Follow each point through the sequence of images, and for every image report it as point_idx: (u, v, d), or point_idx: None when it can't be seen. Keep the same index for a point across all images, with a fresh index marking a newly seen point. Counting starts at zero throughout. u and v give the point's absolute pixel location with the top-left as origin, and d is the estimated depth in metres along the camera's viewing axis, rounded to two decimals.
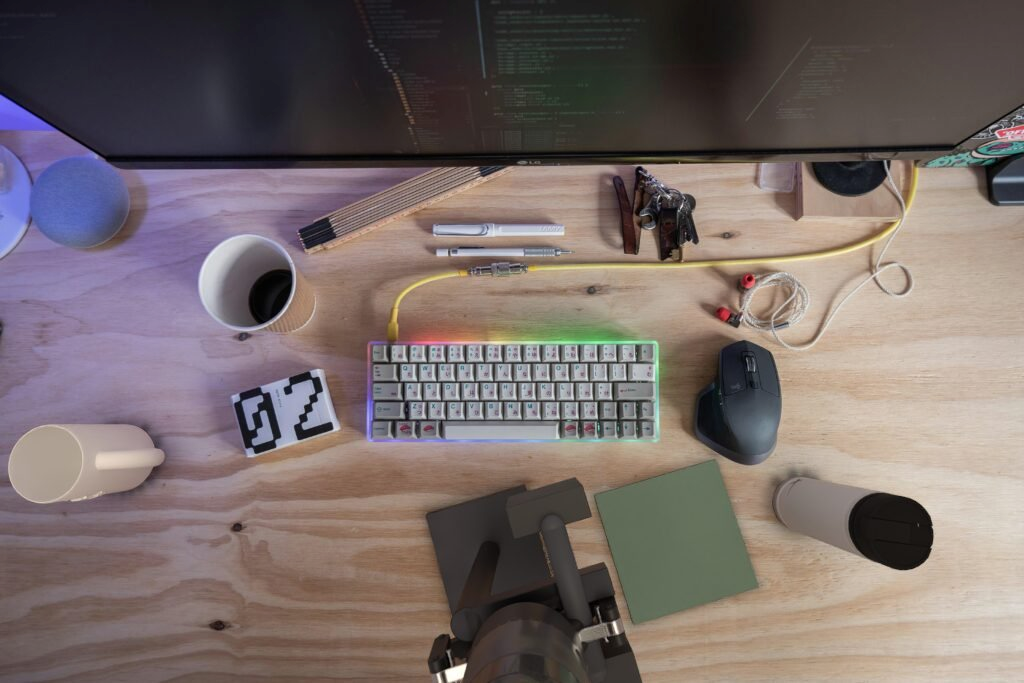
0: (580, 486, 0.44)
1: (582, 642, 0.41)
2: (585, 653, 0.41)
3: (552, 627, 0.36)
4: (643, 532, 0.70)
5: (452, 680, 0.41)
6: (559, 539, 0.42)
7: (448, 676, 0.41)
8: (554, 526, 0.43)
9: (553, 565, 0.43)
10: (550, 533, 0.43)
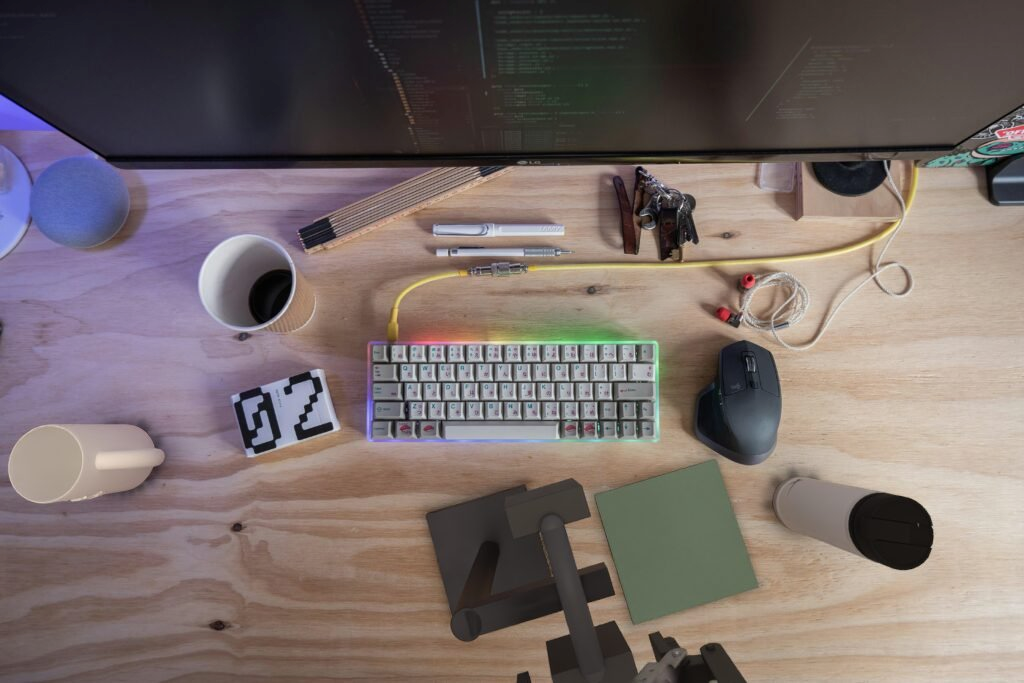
0: (579, 486, 0.44)
1: None
2: (584, 653, 0.41)
3: None
4: (643, 532, 0.70)
5: None
6: (559, 539, 0.43)
7: None
8: (554, 526, 0.43)
9: (552, 565, 0.43)
10: (549, 532, 0.43)
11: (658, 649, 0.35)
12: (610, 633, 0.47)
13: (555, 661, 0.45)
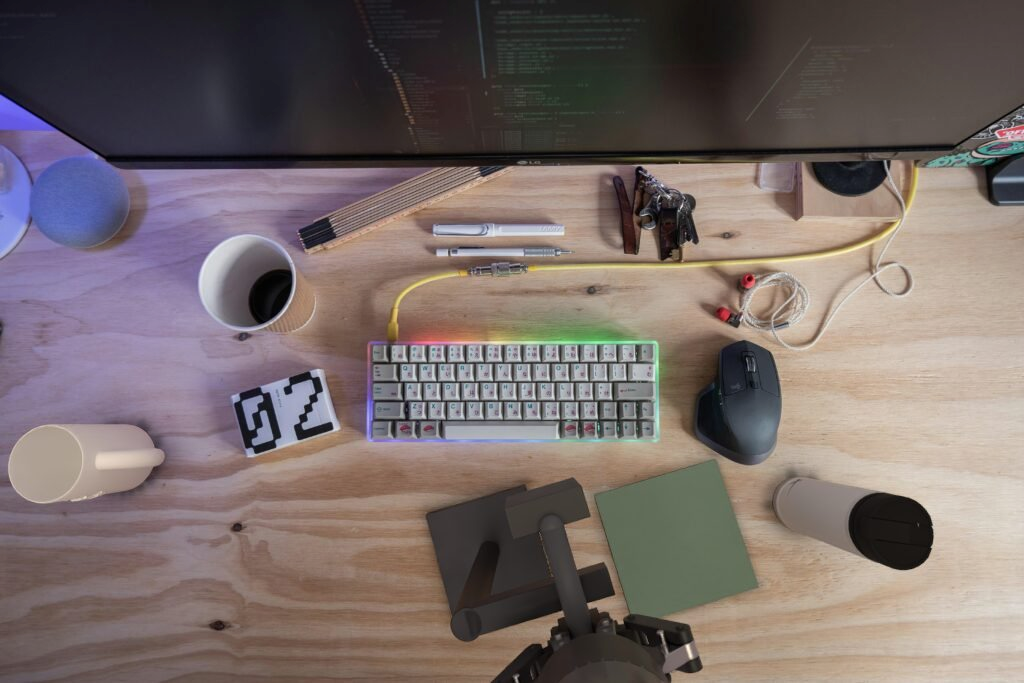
0: (579, 486, 0.44)
1: (665, 674, 0.35)
2: None
3: (644, 670, 0.29)
4: (643, 532, 0.70)
5: None
6: (558, 539, 0.42)
7: None
8: (553, 526, 0.43)
9: (552, 565, 0.43)
10: (549, 533, 0.43)
11: (592, 620, 0.42)
12: None
13: None
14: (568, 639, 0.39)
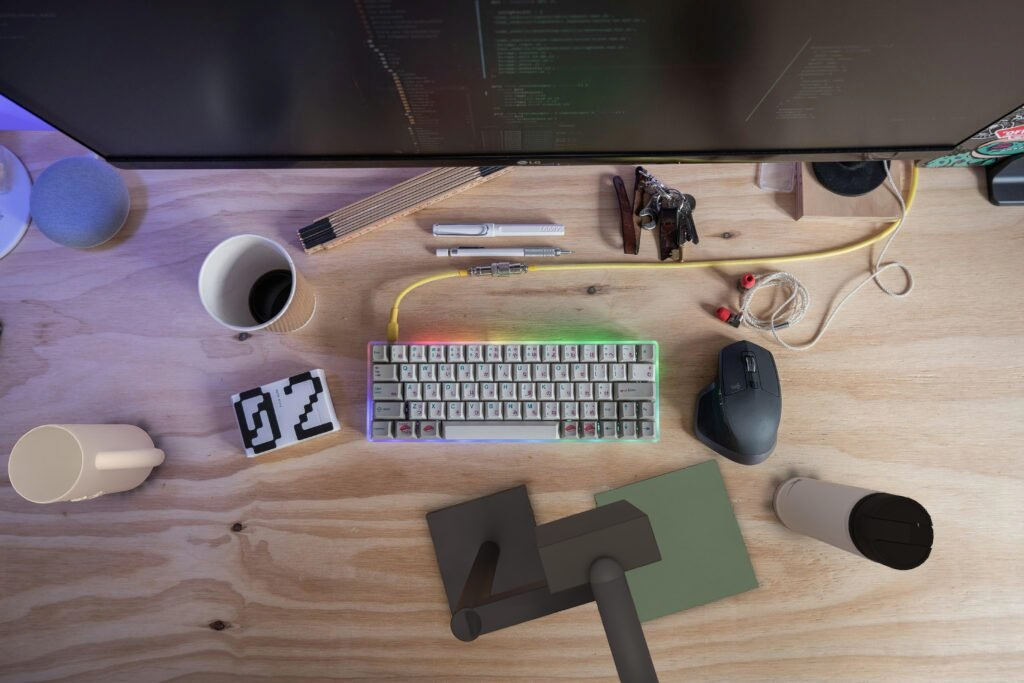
0: (644, 516, 0.31)
1: None
2: None
3: None
4: None
5: None
6: (618, 596, 0.29)
7: None
8: (611, 576, 0.29)
9: (610, 634, 0.29)
10: (605, 586, 0.29)
11: None
12: None
13: None
14: None
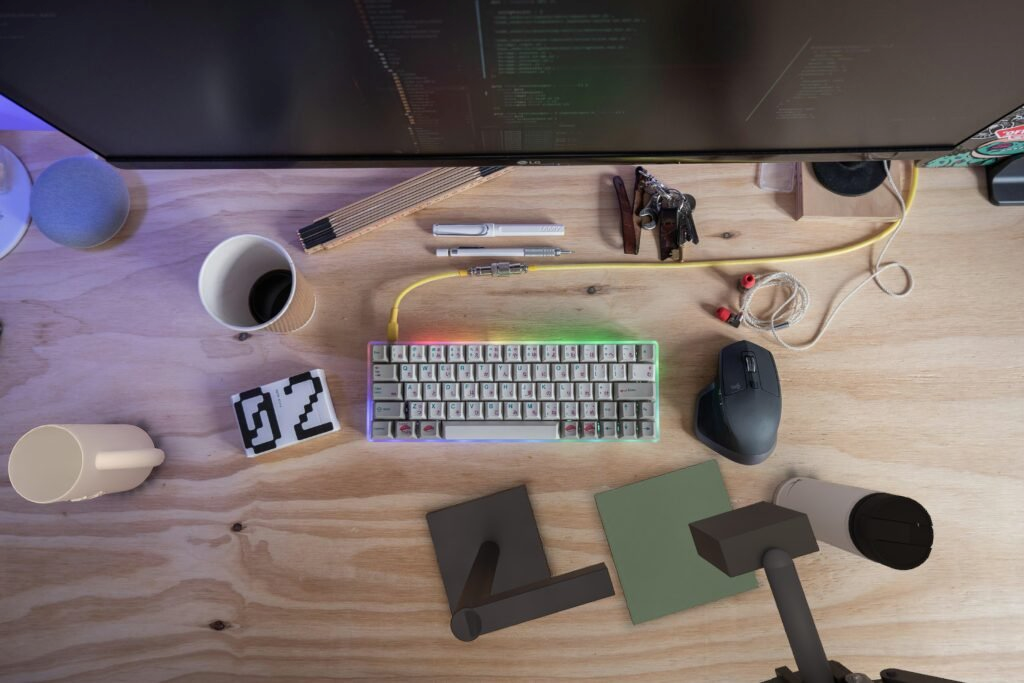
0: (804, 515, 0.38)
1: None
2: None
3: None
4: (643, 532, 0.70)
5: None
6: (791, 578, 0.36)
7: None
8: (785, 563, 0.37)
9: (784, 609, 0.37)
10: (780, 571, 0.37)
11: (832, 673, 0.36)
12: None
13: None
14: None
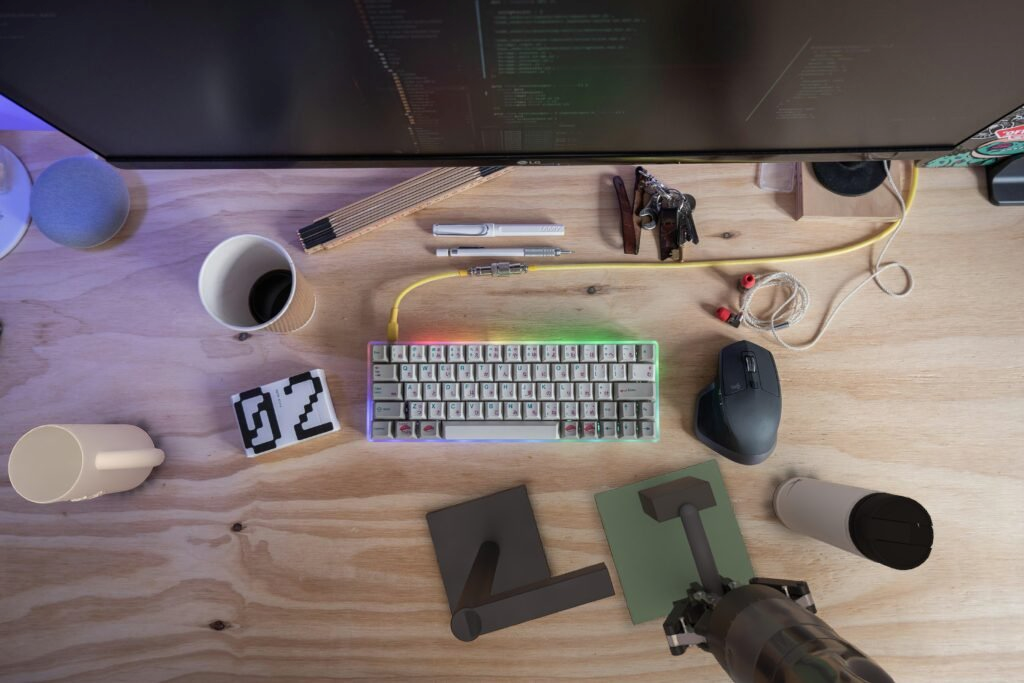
0: (707, 482, 0.59)
1: None
2: None
3: (798, 604, 0.43)
4: (643, 532, 0.70)
5: (682, 643, 0.50)
6: (696, 522, 0.57)
7: (679, 640, 0.50)
8: (692, 512, 0.57)
9: (691, 541, 0.57)
10: (689, 517, 0.57)
11: (722, 583, 0.57)
12: None
13: None
14: (714, 594, 0.53)
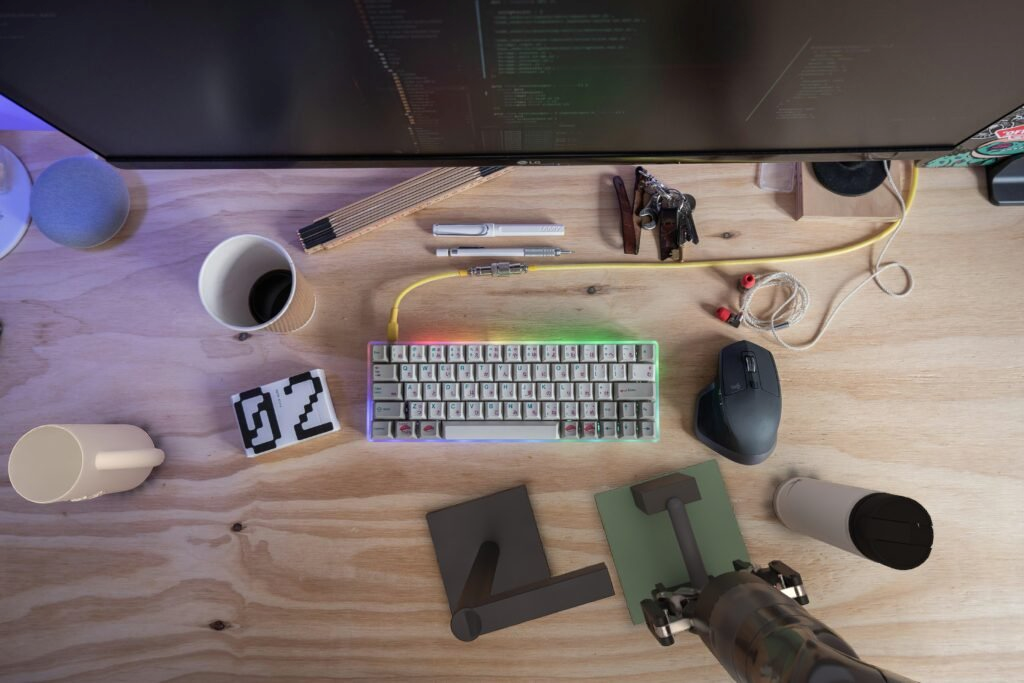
0: (693, 478, 0.64)
1: None
2: None
3: (775, 588, 0.47)
4: (643, 532, 0.70)
5: (675, 632, 0.53)
6: (682, 514, 0.62)
7: (671, 629, 0.53)
8: (678, 505, 0.62)
9: (677, 532, 0.62)
10: (675, 510, 0.62)
11: (742, 566, 0.60)
12: None
13: None
14: None
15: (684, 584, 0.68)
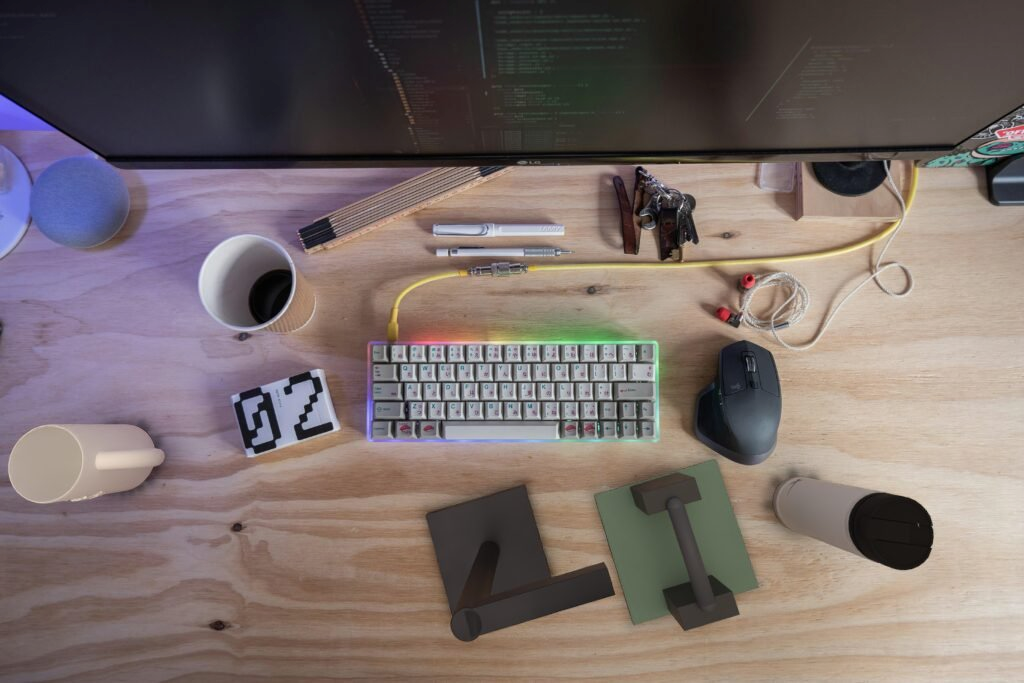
0: (693, 478, 0.64)
1: None
2: (702, 591, 0.61)
3: None
4: (643, 532, 0.70)
5: None
6: (682, 514, 0.62)
7: None
8: (678, 505, 0.62)
9: (677, 532, 0.62)
10: (675, 510, 0.62)
11: None
12: (711, 582, 0.66)
13: (676, 600, 0.64)
14: None
15: (684, 584, 0.68)
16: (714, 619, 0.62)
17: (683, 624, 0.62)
